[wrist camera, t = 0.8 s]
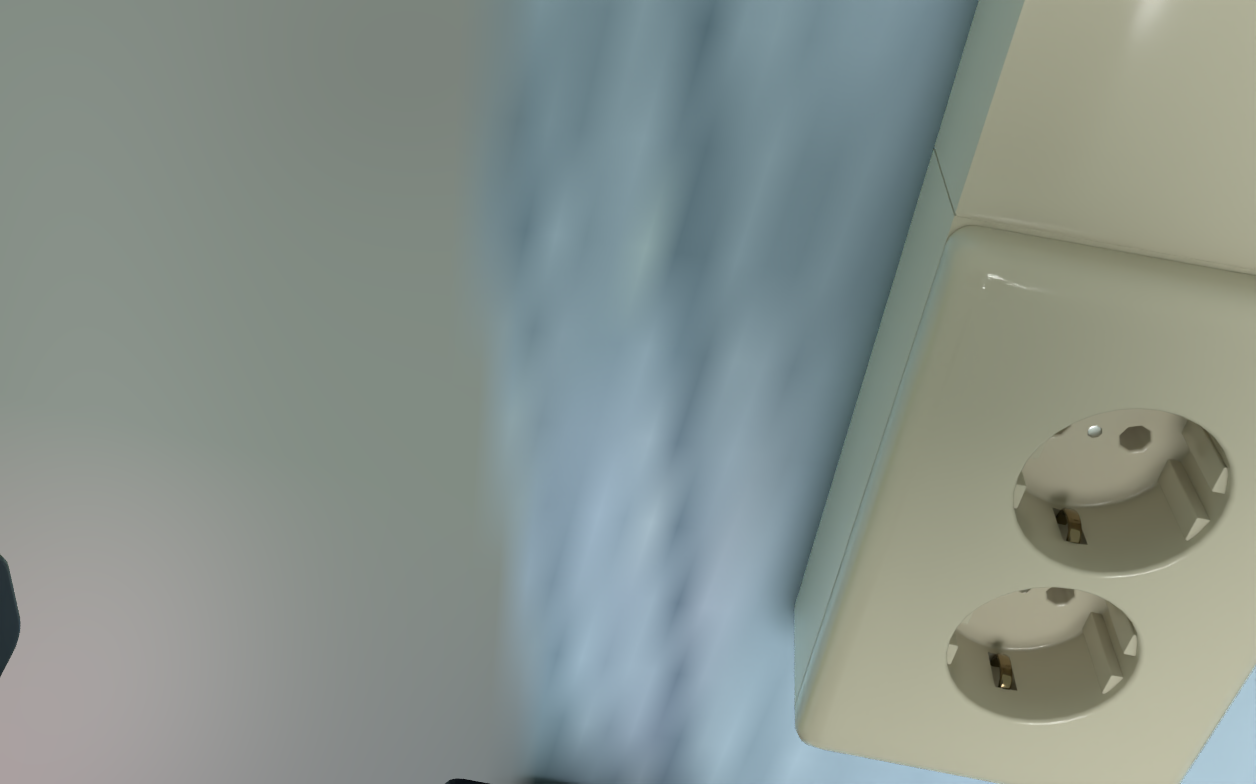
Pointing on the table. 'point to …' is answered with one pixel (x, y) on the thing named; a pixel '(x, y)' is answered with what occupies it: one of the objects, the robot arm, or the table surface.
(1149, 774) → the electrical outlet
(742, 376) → the table surface
